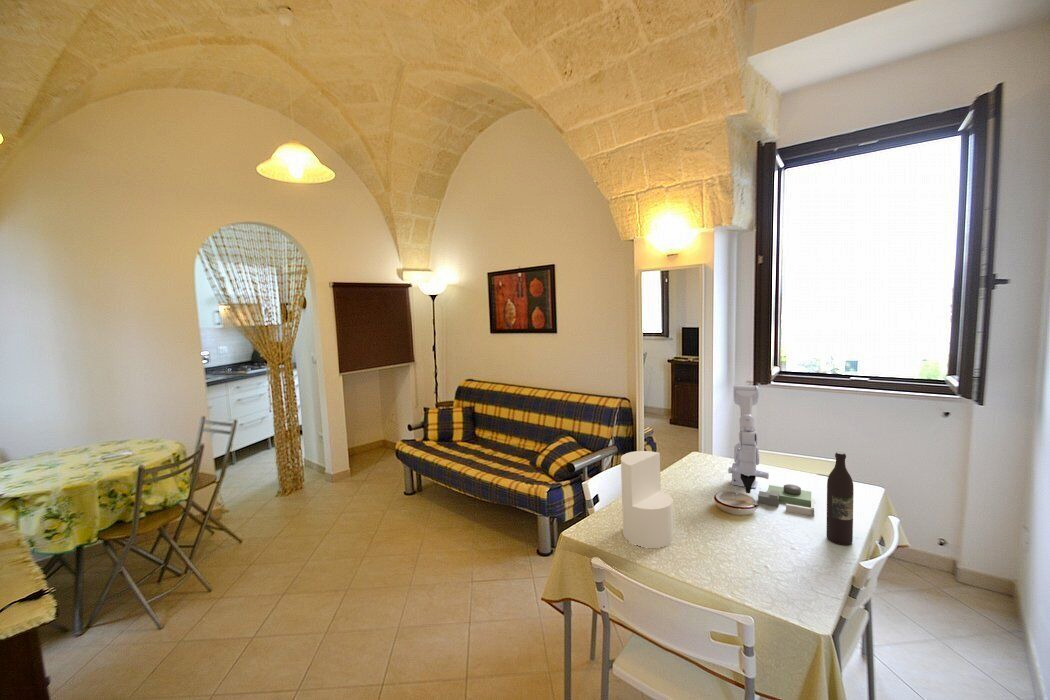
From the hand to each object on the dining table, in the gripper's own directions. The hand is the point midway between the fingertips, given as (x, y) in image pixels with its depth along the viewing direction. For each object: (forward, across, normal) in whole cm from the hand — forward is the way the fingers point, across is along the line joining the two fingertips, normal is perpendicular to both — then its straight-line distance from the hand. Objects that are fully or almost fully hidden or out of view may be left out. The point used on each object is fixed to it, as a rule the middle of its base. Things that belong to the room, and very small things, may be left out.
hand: (748, 492), depth 176 cm
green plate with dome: (+3, +14, +4) cm, 15 cm away
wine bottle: (+3, +30, -20) cm, 36 cm away
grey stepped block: (+3, +7, 0) cm, 8 cm away
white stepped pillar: (+3, -26, -47) cm, 54 cm away
